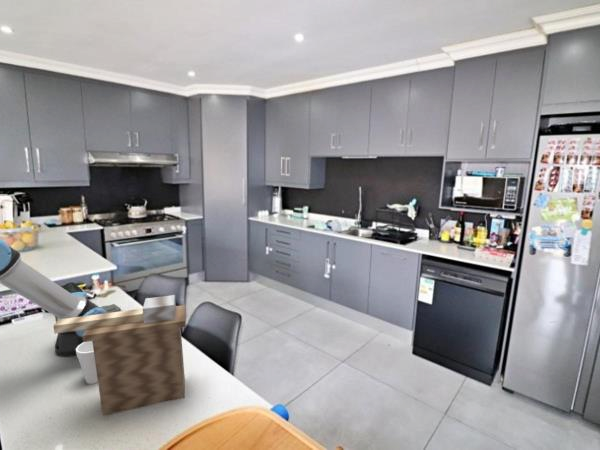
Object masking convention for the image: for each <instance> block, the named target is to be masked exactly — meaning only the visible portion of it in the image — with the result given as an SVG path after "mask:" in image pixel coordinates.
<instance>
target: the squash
mask: <svg viewBox="0 0 600 450" xmlns="http://www.w3.org/2000/svg"><path fill="white" fill-rule="evenodd" d="M61 287H62V288H63V289H65V290H66V291H68V292H69V293H75V292H84V290H83V289H82V288H81V287H80V286H78V285H77V284H76V283H75V282H73V281H72V282H71V281H70V282H68V283H66V284H63V285H62V286H61Z"/></svg>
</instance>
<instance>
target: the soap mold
mask: <svg viewBox="0 0 600 450" xmlns="http://www.w3.org/2000/svg"><path fill="white" fill-rule="evenodd" d="M99 307H100V308H103V309H105V311H106V312H107V313H112V312H120V311H122V310H121V308H120V306H118V305H116V304H115V303H113V304H110V305H103V306H99Z"/></svg>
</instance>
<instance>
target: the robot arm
mask: <svg viewBox="0 0 600 450" xmlns="http://www.w3.org/2000/svg"><path fill="white" fill-rule="evenodd" d="M21 256H22V254H21V253H20V252H19V251H18V250H16V249H14V247H12V246H11V245H9V244H8V243H7V242H6V241H5V240H3V239H2V238H1V237H0V284H1V285H2V286H3V287H6V288H7V289H9V290H11V291H12V292H14V293H16V294H17V295H19V296H21V297H23V298H24V299H26V300H28V301H30V302H31V303H33V304H34V305H36V306H38V307H40V308H41V309H43V310H45V311H46V312H48V313H50V314H52V315H54V318H55V323H56V322H57V321H58V319H66V318H74V317H81V316H89V315H97V314H104V313H107V312H106V311H105V309H103V308H100V307H101V306H99V305H97V304H95V303H94V302H92V301H91V300H90V299H89V297H88V295H87V292H85V291H83V292H75V293H69V292H68V291H66V290H65V289H63V288H62V286H61V285H59V284H57V283H56V282H54V281H53V280H51V279H50V278H49V277H47V276H45V275H44V274H42V273H41V272H40V271H38V270H36V269H35V268H33V267H32V266H30V265H29V264H28V263H27V262H24V261H23V260H22V257H21ZM85 331H86V329H84V330H77V331H70V332H63V333H57V334H56V335H57V336H56V340H55V344H54V351H55V352H54V353H55V354H56V355H57V356H59V357H74V356H77V354H76V348H77V347H78V345H80V344H81V343H83V337H82V336H83V334H84V332H85Z"/></svg>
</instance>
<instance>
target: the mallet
mask: <svg viewBox="0 0 600 450" xmlns="http://www.w3.org/2000/svg"><path fill="white" fill-rule="evenodd" d="M176 306H177V305H176V295H175V294H171V295H170V294H169V295H163V296H156V297H155V296H154V297H146V298H145V299H144V303H143V307H142V308H137V309H136V308H135V309H130V310H129V309H128V310H127V309H126V310H121V311H120V312H112V313H104V314H97V315H89V316H81V317H74V318H66V319H58V321H57V322H56V321H55V323H54V324H53V333H54V334H55V335H57V334H58V333H63V332H70V331H77V330H84V329H91V328H98V327H105V326H113V325H120V324H127V323H134V322H141V321H144V324H147V323H154V322H161V321H168V320H175V315H176Z"/></svg>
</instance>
